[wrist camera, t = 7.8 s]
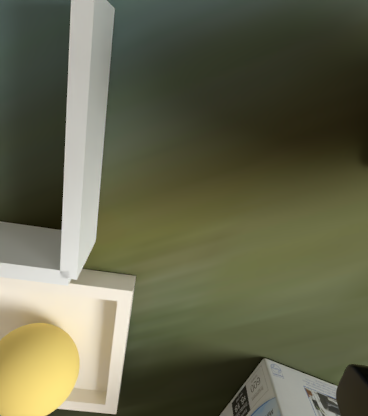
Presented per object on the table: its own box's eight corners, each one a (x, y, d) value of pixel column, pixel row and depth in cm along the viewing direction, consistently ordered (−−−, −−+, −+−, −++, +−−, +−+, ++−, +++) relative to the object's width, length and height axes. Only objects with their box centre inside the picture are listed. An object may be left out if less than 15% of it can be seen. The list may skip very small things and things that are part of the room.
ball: (90, 309, 21) (69, 377, 16) (85, 369, 23) (65, 446, 18) (5, 300, 20) (-42, 368, 16) (7, 363, 22) (-34, 440, 18)
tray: (136, 275, 21) (133, 291, 19) (119, 393, 24) (116, 414, 23) (-34, 253, 20) (-51, 267, 18) (-25, 378, 24) (-38, 399, 22)
